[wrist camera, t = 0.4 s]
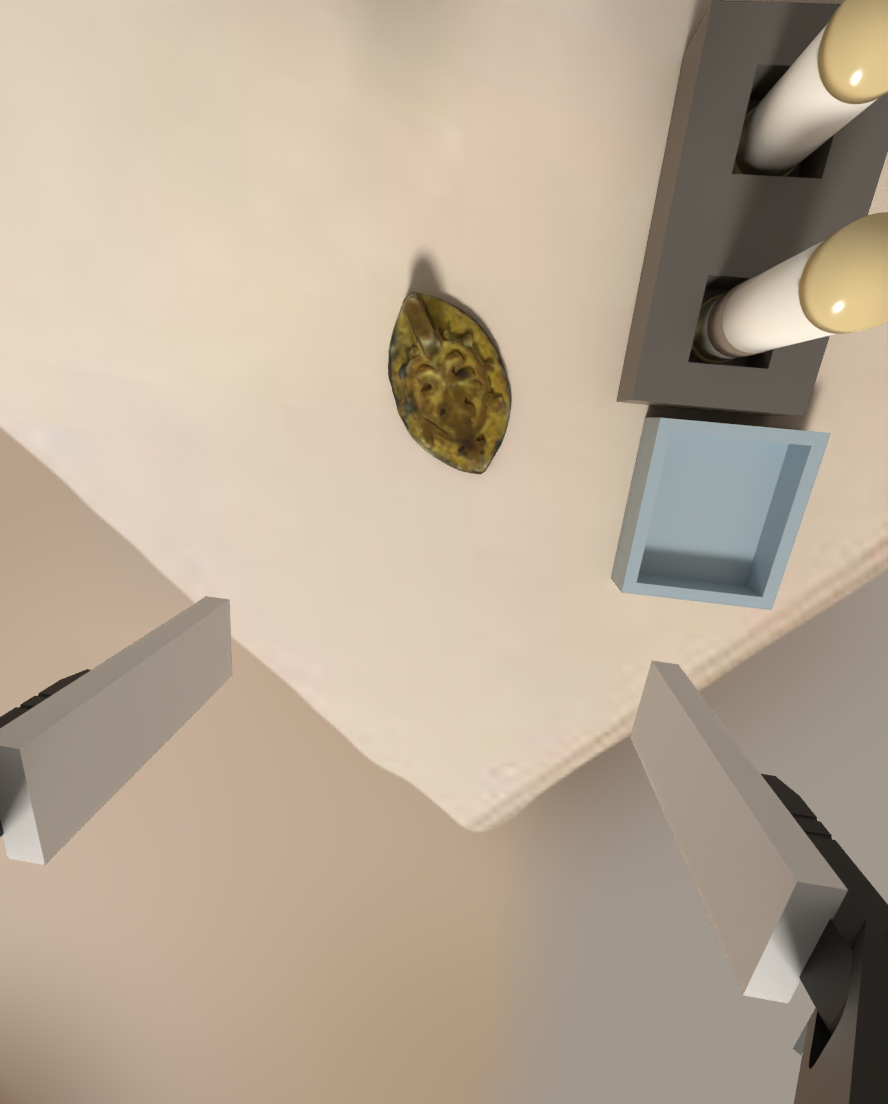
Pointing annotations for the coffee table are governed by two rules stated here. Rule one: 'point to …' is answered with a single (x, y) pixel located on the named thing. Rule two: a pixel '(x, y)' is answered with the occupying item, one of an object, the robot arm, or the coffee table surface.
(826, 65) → the fuse
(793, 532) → the parts tray
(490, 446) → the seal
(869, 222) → the cylinder
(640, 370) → the fuse holder
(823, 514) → the coffee table surface
